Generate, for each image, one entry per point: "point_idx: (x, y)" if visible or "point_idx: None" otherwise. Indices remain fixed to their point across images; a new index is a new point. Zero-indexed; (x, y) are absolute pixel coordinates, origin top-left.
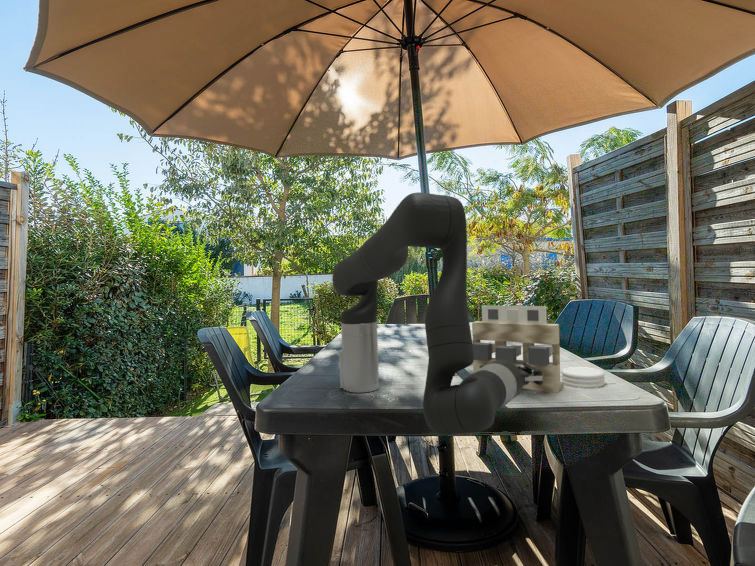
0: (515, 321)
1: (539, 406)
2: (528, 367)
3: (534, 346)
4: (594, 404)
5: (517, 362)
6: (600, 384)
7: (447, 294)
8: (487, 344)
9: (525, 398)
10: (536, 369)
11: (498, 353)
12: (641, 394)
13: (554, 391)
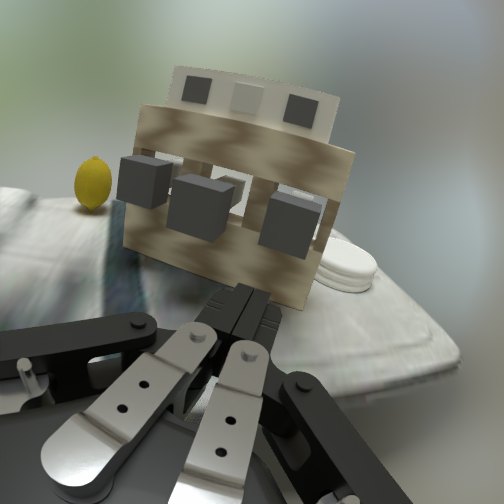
0: (249, 116)
1: None
2: (308, 422)
3: (284, 195)
4: (385, 372)
5: (231, 301)
6: (368, 285)
7: None
8: (159, 164)
9: None
10: (371, 471)
11: (177, 198)
12: (427, 319)
13: (295, 306)
